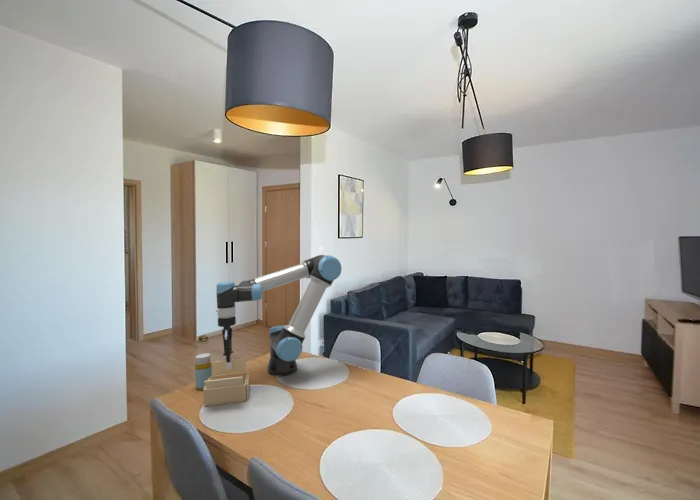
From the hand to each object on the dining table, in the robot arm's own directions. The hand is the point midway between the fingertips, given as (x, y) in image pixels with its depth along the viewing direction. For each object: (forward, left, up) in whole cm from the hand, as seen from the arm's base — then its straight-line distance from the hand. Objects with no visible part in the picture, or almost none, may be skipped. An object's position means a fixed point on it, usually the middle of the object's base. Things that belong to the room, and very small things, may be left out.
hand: (228, 368), depth 151 cm
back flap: (0, -1, 0) cm, 1 cm away
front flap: (0, +14, 0) cm, 14 cm away
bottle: (+12, -8, -11) cm, 18 cm away
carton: (0, +5, -10) cm, 12 cm away
